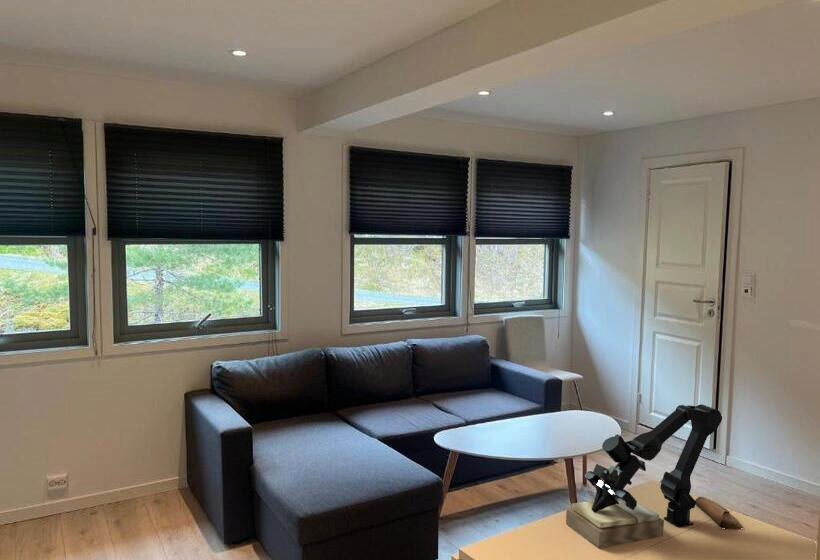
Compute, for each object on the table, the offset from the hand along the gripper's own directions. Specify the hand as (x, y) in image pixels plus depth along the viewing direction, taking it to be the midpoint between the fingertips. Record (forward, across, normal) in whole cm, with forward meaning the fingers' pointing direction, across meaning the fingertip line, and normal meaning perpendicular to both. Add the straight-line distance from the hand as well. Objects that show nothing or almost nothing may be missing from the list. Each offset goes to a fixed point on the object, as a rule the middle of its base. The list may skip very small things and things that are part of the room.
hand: (593, 511), depth 182 cm
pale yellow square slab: (-1, 0, +4) cm, 4 cm away
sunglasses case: (-29, +3, +40) cm, 49 cm away
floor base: (-1, 0, +11) cm, 11 cm away
